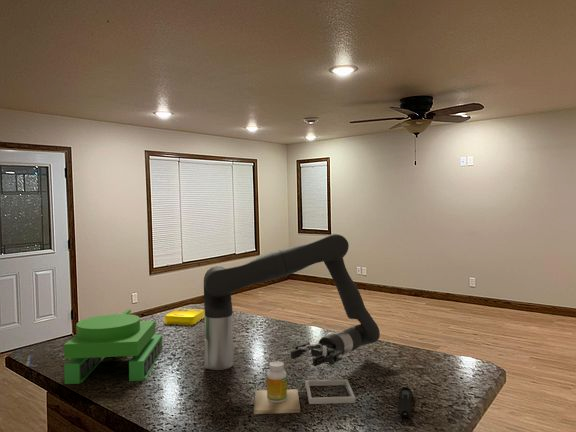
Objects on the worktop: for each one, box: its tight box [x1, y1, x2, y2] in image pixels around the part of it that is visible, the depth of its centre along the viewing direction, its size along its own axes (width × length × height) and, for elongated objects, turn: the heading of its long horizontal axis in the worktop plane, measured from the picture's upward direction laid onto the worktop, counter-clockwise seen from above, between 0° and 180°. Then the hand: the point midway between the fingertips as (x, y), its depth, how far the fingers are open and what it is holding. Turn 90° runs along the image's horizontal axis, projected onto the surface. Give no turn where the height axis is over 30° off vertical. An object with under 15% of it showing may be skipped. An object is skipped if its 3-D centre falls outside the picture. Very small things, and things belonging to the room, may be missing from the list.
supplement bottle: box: [266, 360, 288, 403], centre depth 118 cm, size 5×5×10 cm
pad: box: [253, 388, 301, 415], centre depth 118 cm, size 12×12×1 cm
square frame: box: [304, 378, 356, 405], centre depth 124 cm, size 13×13×1 cm
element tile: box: [164, 307, 205, 326], centre depth 206 cm, size 15×15×5 cm
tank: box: [63, 308, 163, 385], centre depth 151 cm, size 24×35×16 cm
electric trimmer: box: [397, 386, 414, 418], centre depth 115 cm, size 4×16×3 cm, turn 164°
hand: (302, 359), depth 126 cm, fingers open, 8 cm apart
